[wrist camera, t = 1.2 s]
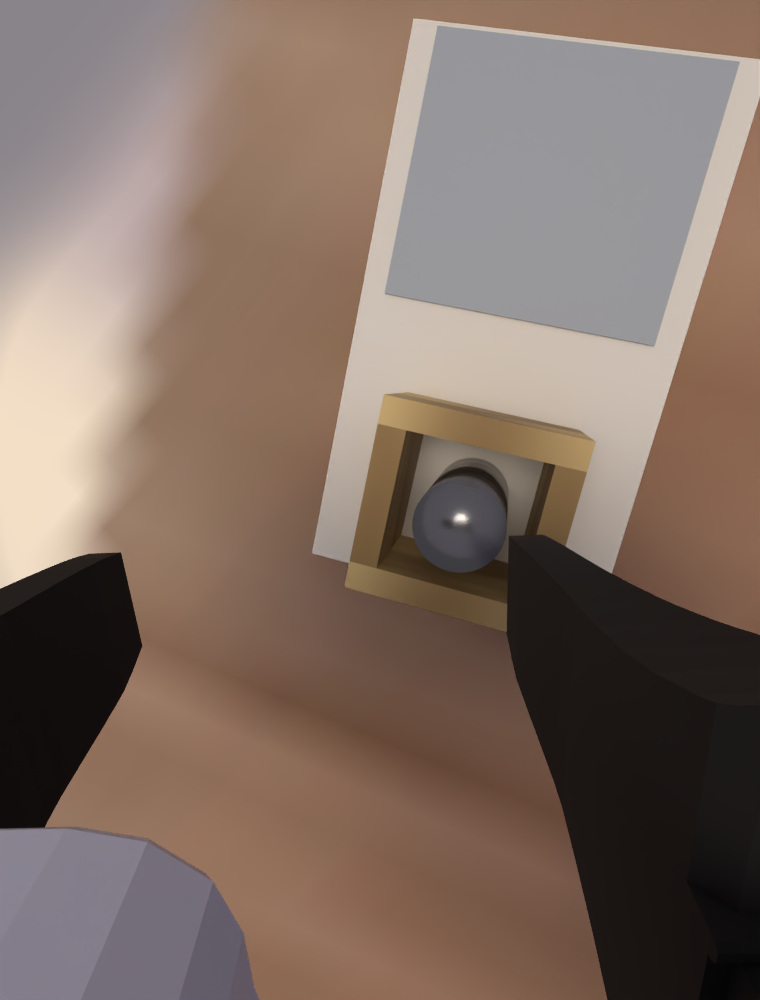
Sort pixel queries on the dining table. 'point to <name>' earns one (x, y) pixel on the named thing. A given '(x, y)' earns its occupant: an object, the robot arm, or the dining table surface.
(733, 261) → the dining table surface
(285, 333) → the dining table surface
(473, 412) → the collar
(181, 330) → the dining table surface
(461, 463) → the post
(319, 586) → the dining table surface
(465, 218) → the board
